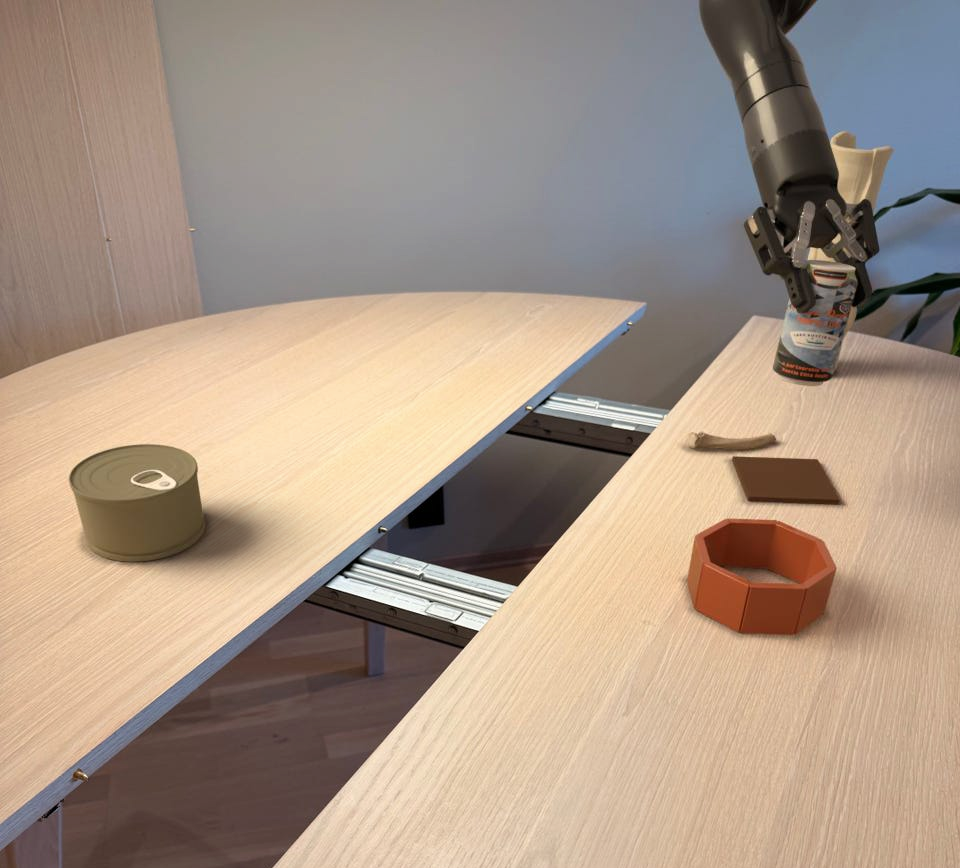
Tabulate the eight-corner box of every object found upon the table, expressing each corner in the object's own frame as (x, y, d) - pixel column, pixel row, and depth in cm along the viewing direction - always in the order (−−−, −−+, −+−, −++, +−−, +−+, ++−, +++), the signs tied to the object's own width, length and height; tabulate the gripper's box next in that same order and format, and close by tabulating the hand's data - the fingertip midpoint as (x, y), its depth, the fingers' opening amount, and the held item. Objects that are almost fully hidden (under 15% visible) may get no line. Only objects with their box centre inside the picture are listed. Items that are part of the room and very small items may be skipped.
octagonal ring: (802, 565, 97) (814, 521, 94) (834, 636, 88) (848, 590, 85) (681, 561, 97) (689, 516, 94) (699, 632, 88) (708, 585, 85)
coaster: (816, 463, 116) (817, 458, 115) (839, 504, 108) (840, 499, 107) (731, 460, 116) (732, 456, 115) (747, 501, 108) (748, 496, 107)
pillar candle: (773, 357, 143) (820, 129, 126) (829, 356, 144) (883, 129, 127) (794, 379, 137) (847, 141, 119) (853, 378, 137) (914, 142, 120)
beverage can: (766, 388, 101) (791, 270, 94) (775, 363, 107) (799, 249, 99) (829, 398, 99) (859, 278, 92) (835, 371, 105) (864, 256, 98)
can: (154, 492, 106) (142, 433, 102) (231, 526, 101) (222, 465, 97) (58, 537, 98) (42, 475, 94) (137, 576, 93) (123, 512, 89)
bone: (780, 448, 119) (784, 432, 117) (691, 453, 117) (693, 437, 116) (772, 439, 121) (775, 423, 119) (684, 444, 119) (686, 428, 118)
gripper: (748, 129, 93) (796, 294, 91) (871, 123, 97) (919, 280, 95) (709, 177, 100) (753, 331, 98) (825, 170, 104) (869, 317, 103)
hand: (835, 305), depth 97 cm, fingers closed on beverage can, 6 cm apart
